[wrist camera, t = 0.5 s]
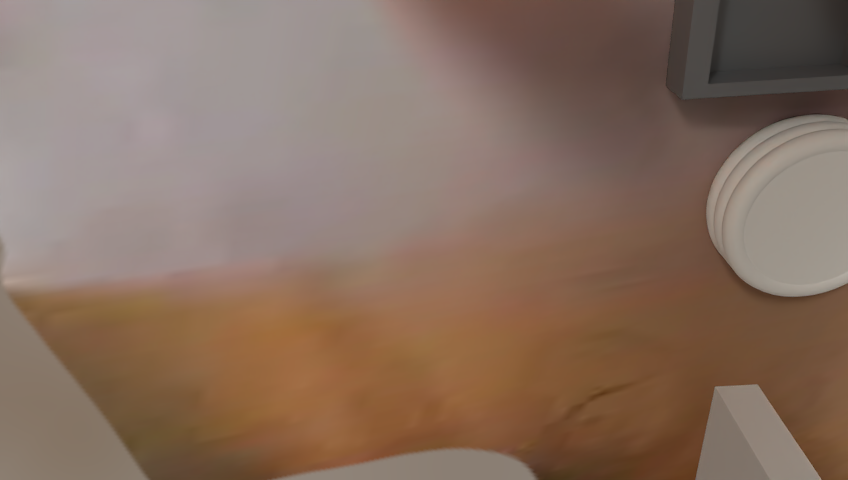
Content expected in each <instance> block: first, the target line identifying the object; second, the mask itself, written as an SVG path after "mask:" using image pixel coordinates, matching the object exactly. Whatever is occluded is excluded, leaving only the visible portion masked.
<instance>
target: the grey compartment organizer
mask: <svg viewBox="0 0 848 480" xmlns="http://www.w3.org/2000/svg"><path fill="white" fill-rule="evenodd" d="M666 86H667V87H668V88H669V89H670V90H671V91H673V92H674V93H675V94H676V95H677V96H678V97H679V98H681V99H682V100H683V99H699V98H715V97H731V96H746V95H762V94H778V93H794V92H809V91H825V90H841V89H848V0H675V6H674V15H673V24H672V33H671V42H670V51H669V60H668V69H667V78H666Z"/></svg>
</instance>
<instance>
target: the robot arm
mask: <svg viewBox="0 0 848 480" xmlns="http://www.w3.org/2000/svg"><path fill="white" fill-rule="evenodd" d="M695 480H821V478H820V477H819V475H818V474H817V472H816V471H815V469H814V468H813V466H812V465H811V463H810V462H809V460H808V459H807V457H806V456H805V454H804V453H803V451H802V450H801V448H800V447H799V445H798V444H797V442H796V441H795V439H794V438H793V436H792V435H791V433H790V432H789V430H788V429H787V427H786V426H785V424H784V423H783V422H782V420H781V419H780V417H779V416H778V414H777V413H776V411H775V410H774V408H773V407H772V405H771V404H770V402H769V401H768V399H767V398H766V396H765V395H764V393H763V392H762V390H761V389H760V387H759V386H758V384H757V385H738V386H718V387H715V389H714V394H713V399H712V403H711V408H710V413H709V418H708V422H707V427H706V432H705V437H704V441H703V446H702V451H701V455H700V460H699V465H698V470H697V474H696V479H695Z"/></svg>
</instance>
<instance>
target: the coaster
mask: <svg viewBox="0 0 848 480" xmlns="http://www.w3.org/2000/svg"><path fill="white" fill-rule="evenodd" d="M706 220H707V227H708V231H709V235H710V238H711V240H712V242H713V244H714V246H715V248H716V249H717V250H718V252H719V253H720V254H721V255H722V256H723V258H724V259H725V260H726V262H727V263H728V264H729V265H730V266H731V268H732V269H733V270H734V272H735V273H736V274H737V275H738V276H739V277H740V278H741V279H742V280H743V281H744V282H746V283H747V284H749V285H751V286H752V287H754V288H756V289H759V290H761V291H763V292H766V293H769V294H772V295H778V296H785V297H801V296H809V295H816V294H820V293H824V292H827V291H830V290H833V289H836V288H838V287H841V286H843V285H845V284H847V283H848V119H845V118H842V117H837V116H833V115H820V114H814V115H802V116H796V117H791V118H788V119H784V120H781V121H779V122H776V123H773V124H771V125H769V126H767V127H765V128H763V129H761V130H760V131H758V132H756V133H755V134H753V135H752V136H750V137H749V138H748V139H746V140H745V141H744V142H743V143H742V144H740V145H739V146H738V147H737V148H736V149H735V150H734V151H733V152H732V153H731V154H730V156H729V157H728V158H727V159H726V161H725V162H724V163H723V165H722V166H721V168H720V169H719V171H718V173H717V174H716V176H715V179H714V181H713V183H712V185H711V188H710V191H709V194H708V199H707V205H706Z"/></svg>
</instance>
